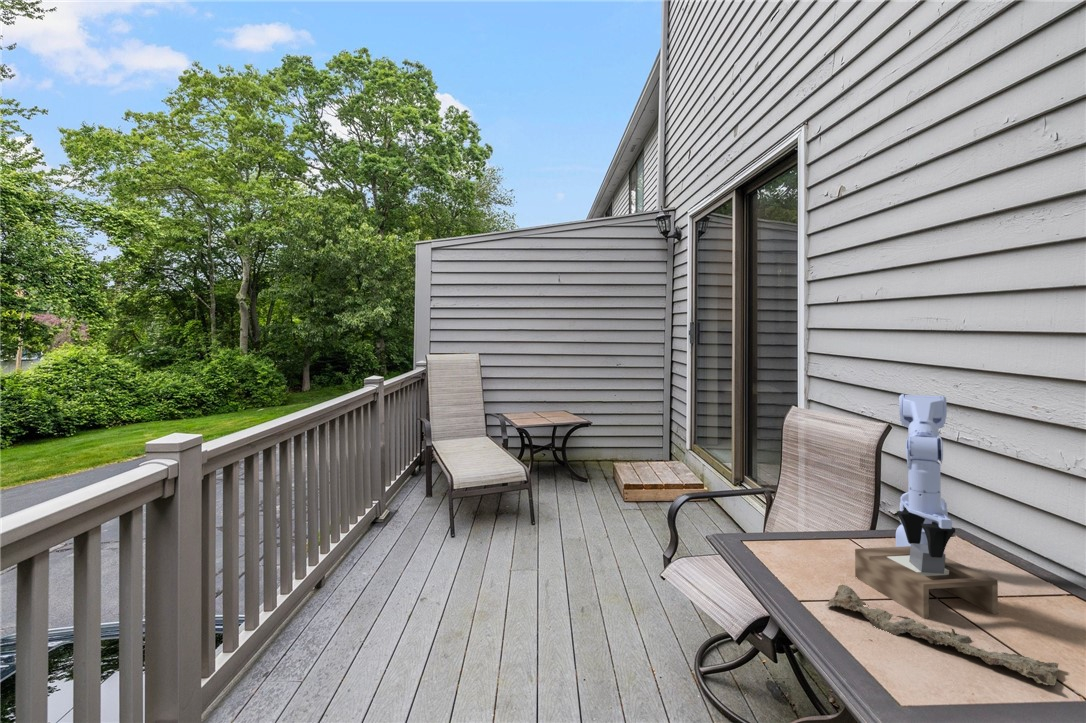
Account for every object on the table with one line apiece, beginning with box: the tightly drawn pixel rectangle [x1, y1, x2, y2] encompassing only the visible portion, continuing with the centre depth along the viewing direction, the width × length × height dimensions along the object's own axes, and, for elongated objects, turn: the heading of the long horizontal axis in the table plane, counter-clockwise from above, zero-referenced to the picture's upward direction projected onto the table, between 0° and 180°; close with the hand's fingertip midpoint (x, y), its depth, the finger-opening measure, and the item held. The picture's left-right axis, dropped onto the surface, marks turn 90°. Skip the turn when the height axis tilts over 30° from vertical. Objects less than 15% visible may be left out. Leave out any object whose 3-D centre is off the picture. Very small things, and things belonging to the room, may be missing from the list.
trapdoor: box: [887, 555, 949, 576], centre depth 111 cm, size 7×9×1 cm
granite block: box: [909, 543, 947, 574], centre depth 109 cm, size 4×4×4 cm
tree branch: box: [826, 584, 1060, 687], centre depth 93 cm, size 34×10×3 cm, turn 40°
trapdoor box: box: [854, 546, 999, 619], centre depth 110 cm, size 19×17×7 cm
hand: (924, 550), depth 109 cm, fingers open, 7 cm apart
